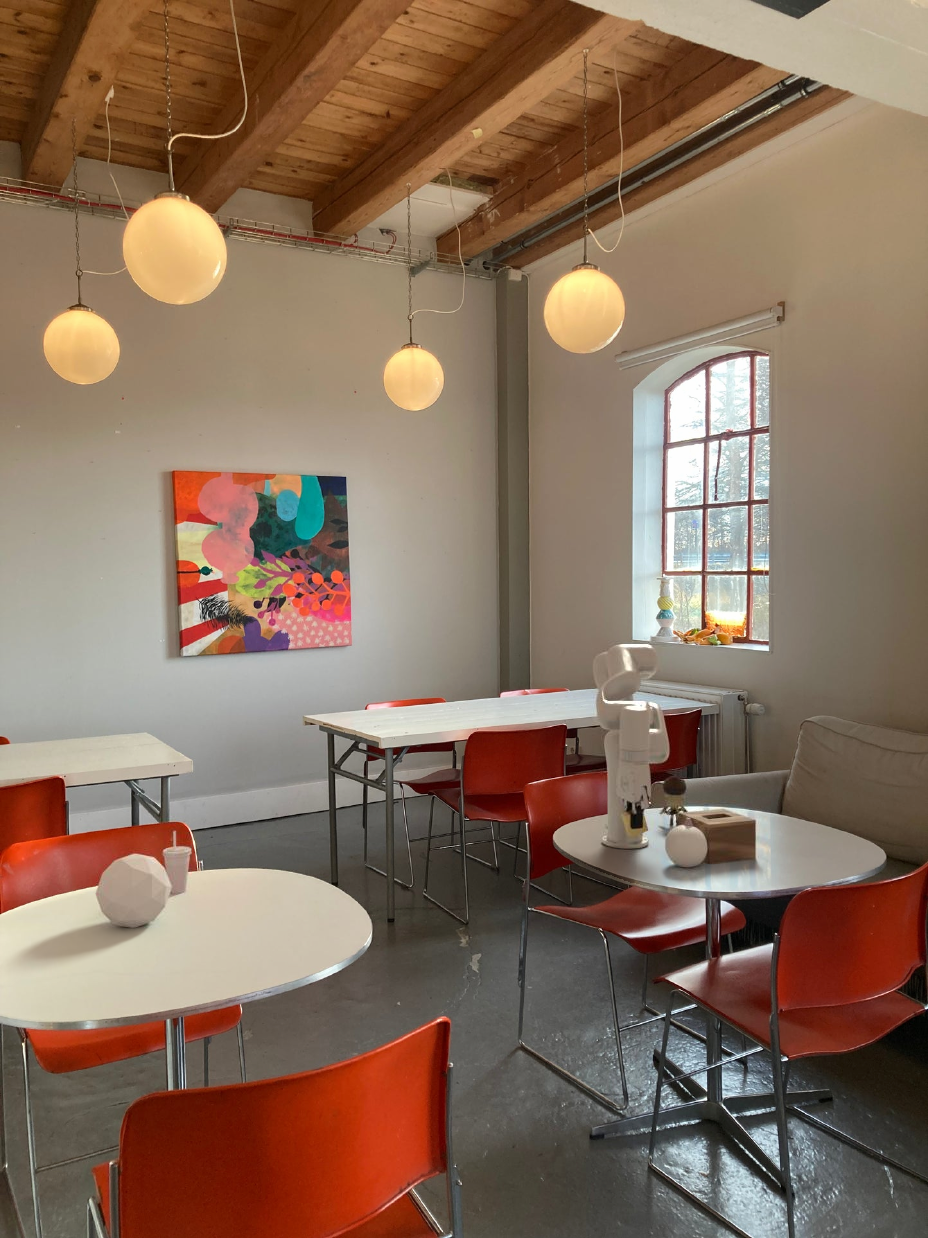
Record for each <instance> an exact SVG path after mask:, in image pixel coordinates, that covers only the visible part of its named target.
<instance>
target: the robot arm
mask: <svg viewBox="0 0 928 1238" xmlns="http://www.w3.org/2000/svg"><path fill="white" fill-rule="evenodd" d="M658 669H659V656H658V653H657V651H656V649H655V647H653V646H652V645H650V644H642V643H641V644H630V643H629V644H627V643H626V644H616V645H614V646H612V647H610V648H609V649H608V651H605V652H604V651H603V652H601V653H598V654H597V655H596V656H595V657H594V659H593V662H592V673H593V679H594V683H595V686H596V687H597V691H598V692H597V694H596V700H595V704H596V705H595V707H596V708H595V709H596V717H597V721H598V722H597V723H598V724H599V726H600V727H601V728H602V729H603V730H604V729H605V730H607V731H608V732H607V733H606V734H605V736H604V739H603V745H604V747H603V749H604V752H605V753H604V754H605V760H606V769H607V770H606V771H607V776H606V777H607V824H605V825H604V828H605V829H606V830H607V834H606V835H604V836H602V839H601V842H602V844H604V845H605V846H608V847H611V848H615V849H625V850H627V849H630V850H631V849H642V848H644V847H645V848H646V847H647V846H648V845H649V844H650V843H649V839H648V838H647V837H645V836H644V833H642V834H640V835H637V836H635V837H633V838H631V837H629V836H627V833H626V830H625V826H624V823H623V819H622V815H621V814H622V813H624V812H627V811H629V810H631V809H632V812H633V813H631V828H632V829H639V828H643V813H644V814H645V810H646V809H649V807H650V805H649V802H650V801H651V796H652V794H651V793H652V783H651V770H650V768H651V767H650V764H662V763H664V762H666V761H667V760H668V758H669V756H670V742H669V737H668V731H667V727H666V721H665V717H664V712H663V709H662V708H661V706H660V705H659V704H658V703H656V702H655V703H654V702H647V701H643V700H635V701H634V694H636V693H637V692H638V691H639V689H640V687H641V684H642V681H643V680H649V679H651V678H652V677H653V676H654V675H655V674H656V672H657V670H658ZM641 680H642V681H641Z"/></svg>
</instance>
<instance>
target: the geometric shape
mask: <svg viewBox="0 0 928 1238" xmlns="http://www.w3.org/2000/svg"><path fill="white" fill-rule="evenodd" d="M171 888H172V886H171V883H170V881H169V878H168V876H167V873H166V867H164V866H163V865H162V864H161V863H160V861H158V860H157V858H156V857H155V856H148V855H144V854H140V853H131V854H129V855H127V856H123V857H120V858H118V859H115V860H113V862H111V864H110V865H109V866H108V867H107V868H106V869H105V870H104V871H103V872H102V873H101V876H100V880H99V882H98V885H97V888H96V891H95V896H96V899H97V902H98V904H99V908H100V910H101V913H102V914H103V915H104V916H105V917H106V918H107V919H108V920H109V921H110V922H111V923H112V925H114V926H118V927H126V928H131V929H135V928H138V927H140V926H144V925H146V924H148V923H151V922H153V921H155V920H156V919H157V918H158V916H159V915H160V914H161V913H162V912H163V911H164V909H165V908H166V905H167V902H168V900H169V896H170V894H171V893H170V891H171Z"/></svg>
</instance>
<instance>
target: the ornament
mask: <svg viewBox="0 0 928 1238" xmlns="http://www.w3.org/2000/svg"><path fill="white" fill-rule="evenodd" d="M688 823H689V824H688ZM664 848H665V853H666V855H667V858H668V859H669V860H670V861H671V862H672V863H673V864H675V865H677V866H678V867H682V868H692V867H696V866H699V865H700V864H701V863H703V862H704V861H703V860H704V858H705V857H706V854H707V841H706V838H705V836H704V834H703V833H702V832H701V831H700V830H699V829H697V828H696V827H693V824H692V822H691V819H690V818H686V821H685V823H684V825H680V826H677V825H676V826H675V827H673V828H672V829H670V830H669V832H668V833H667V834H666V837H665V843H664Z"/></svg>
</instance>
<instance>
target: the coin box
mask: <svg viewBox="0 0 928 1238" xmlns="http://www.w3.org/2000/svg"><path fill="white" fill-rule="evenodd" d="M678 814H679V826H680V825H684V823H685V821H686V818H690V819H691V822H692V824H693V827H696V828H697V829H699V830H700V831H701V832H702V833H703V834H704V836H705V838H706V841H707V854H706V857H705V858H704V860H703V861H702V862H704V863H707V864H709V865H712V864H719V863H721V864H722V863H728V862H737V861H744V860H745V861H746V860H747V861H748V860H755V859H757V856H756V855H757V853H756V852H757V850H756V849H757V845H756V844H757V842H756V839H757V836H756V835H757V832H756V831H757V829H756V828H757V825H756V824H757V820H756V819H754V818H751V817H748V816H745V815H743V814H740V813H737V812H733V811H731V810H728V809H725V808H716V809H705V810H704V809H703V810H694V811H692V810H691V811H688V812H683V811H681V812H679V813H678ZM688 824H689V823H688Z"/></svg>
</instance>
